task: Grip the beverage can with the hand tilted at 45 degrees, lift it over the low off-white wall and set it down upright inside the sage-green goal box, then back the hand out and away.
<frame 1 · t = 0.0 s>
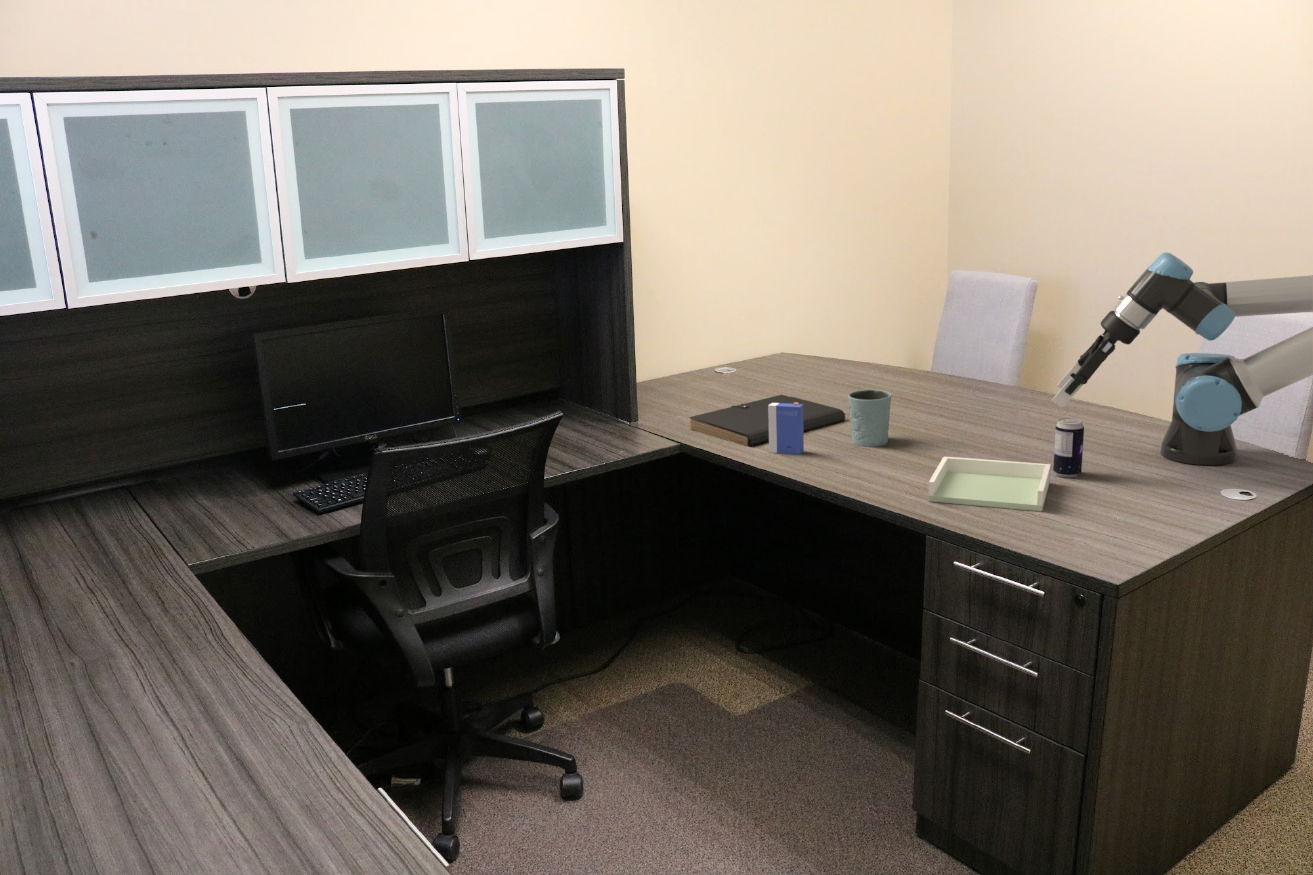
hand: (1059, 396, 238), 15 cm above the table, fingers open, 13 cm apart
embossed teal cup: (869, 442, 265), on the table
walkman: (786, 452, 260), on the table
beverage can: (1067, 475, 234), on the table
goal box: (989, 492, 226), on the table
leather journal: (767, 427, 284), on the table
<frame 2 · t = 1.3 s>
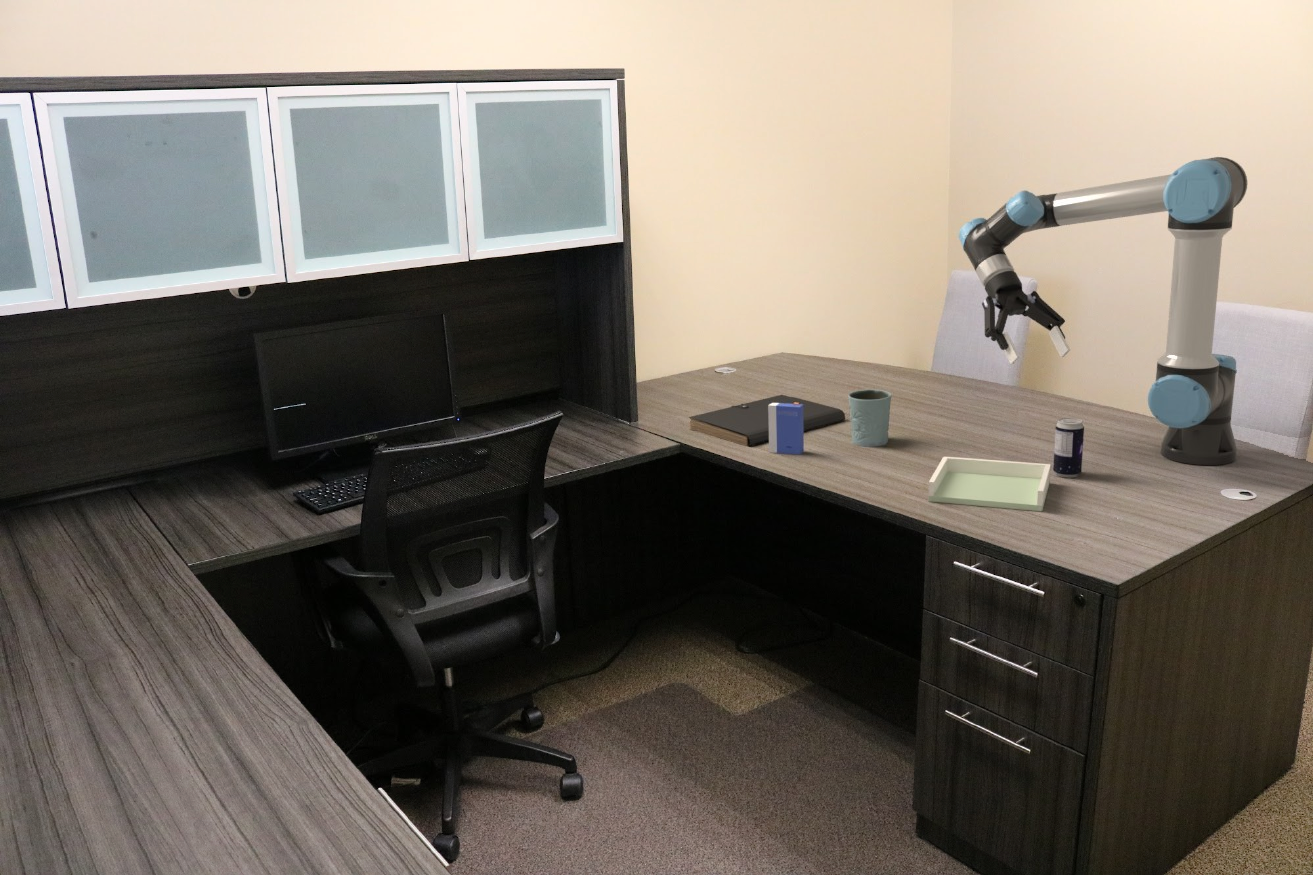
hand: (1040, 357, 237), 24 cm above the table, fingers open, 13 cm apart
nothing on the table moved.
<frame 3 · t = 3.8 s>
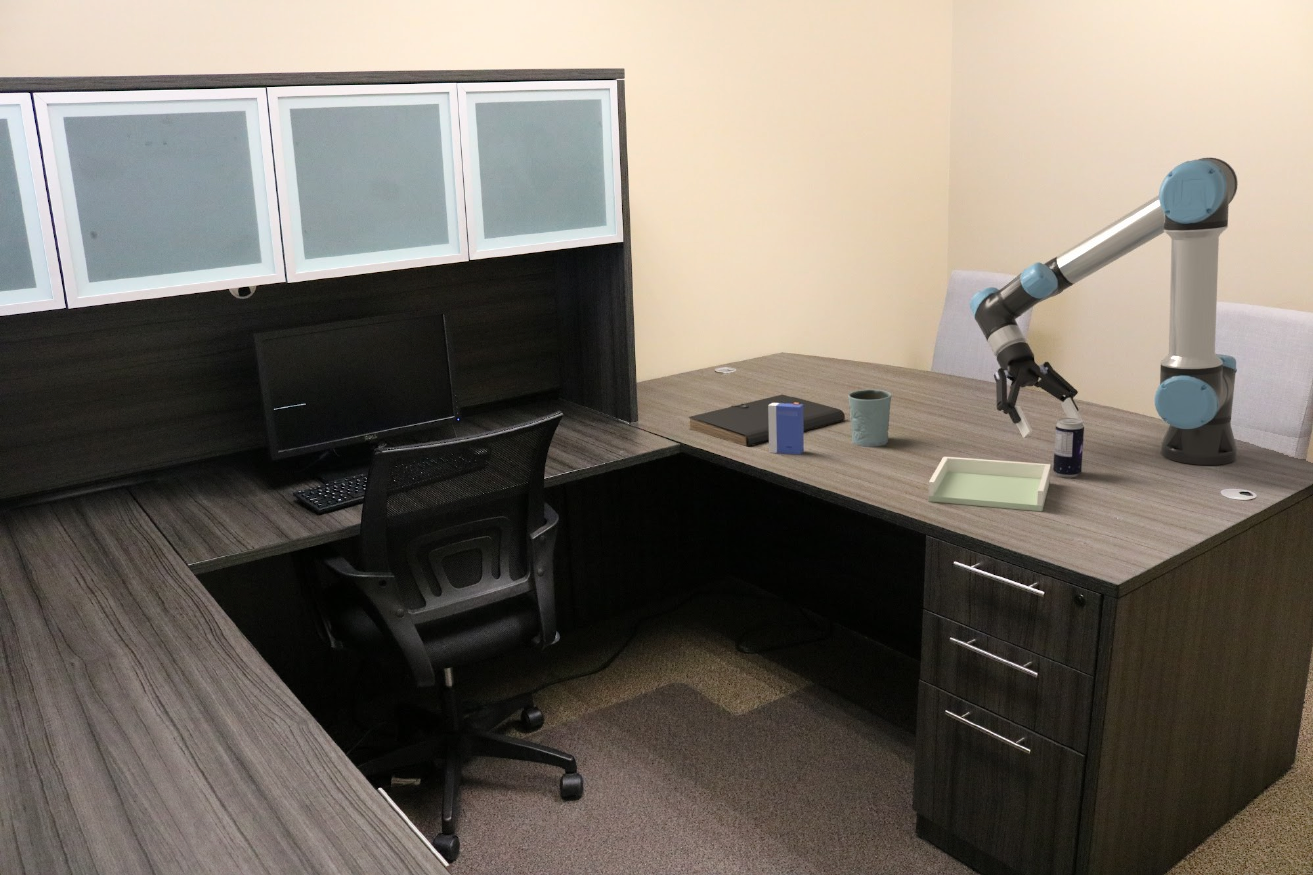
hand: (1053, 430, 235), 9 cm above the table, fingers open, 13 cm apart
nothing on the table moved.
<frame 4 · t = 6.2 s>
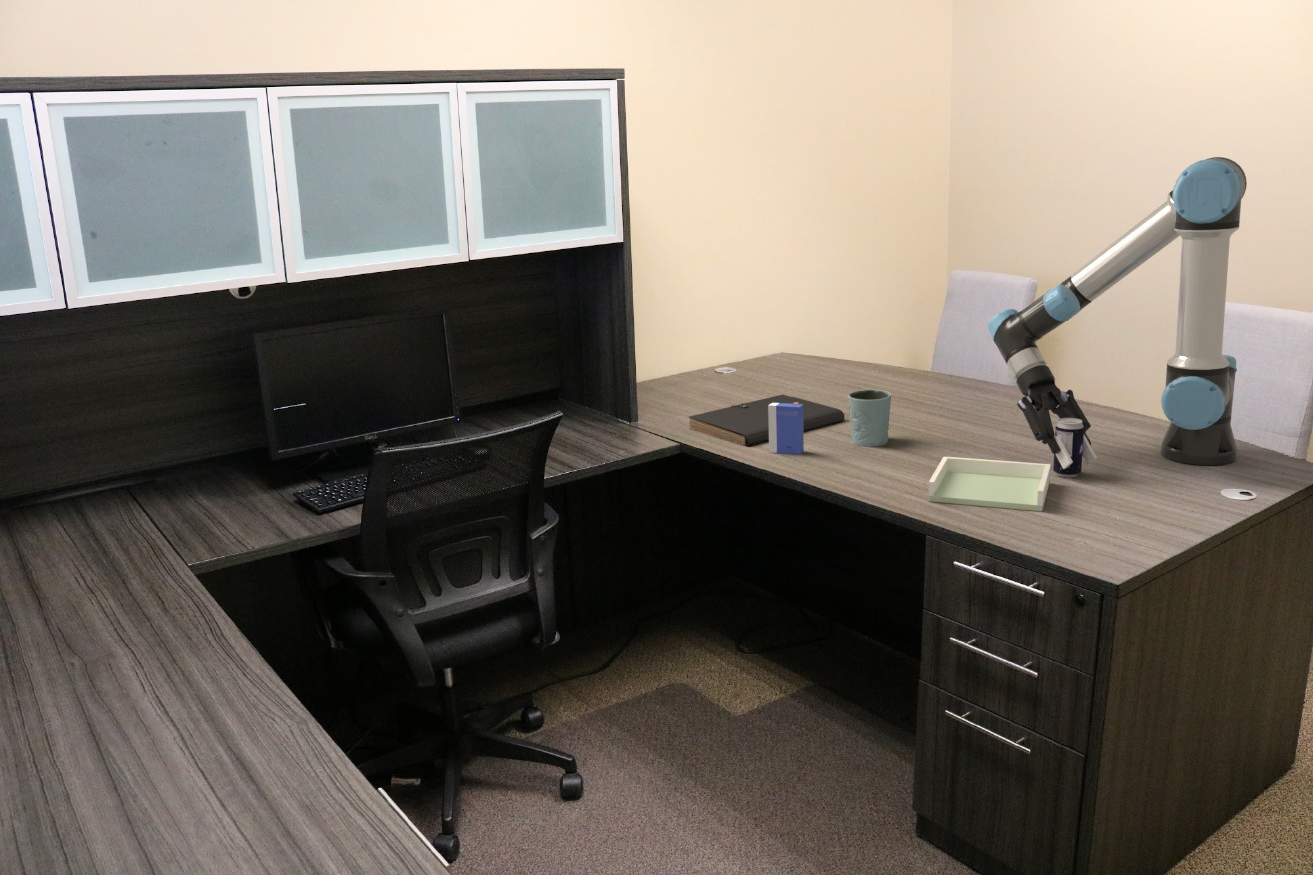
hand: (1080, 463, 230), 4 cm above the table, fingers closed on beverage can, 6 cm apart
beverage can: (1066, 475, 234), on the table, touching gripper
everything else where it was.
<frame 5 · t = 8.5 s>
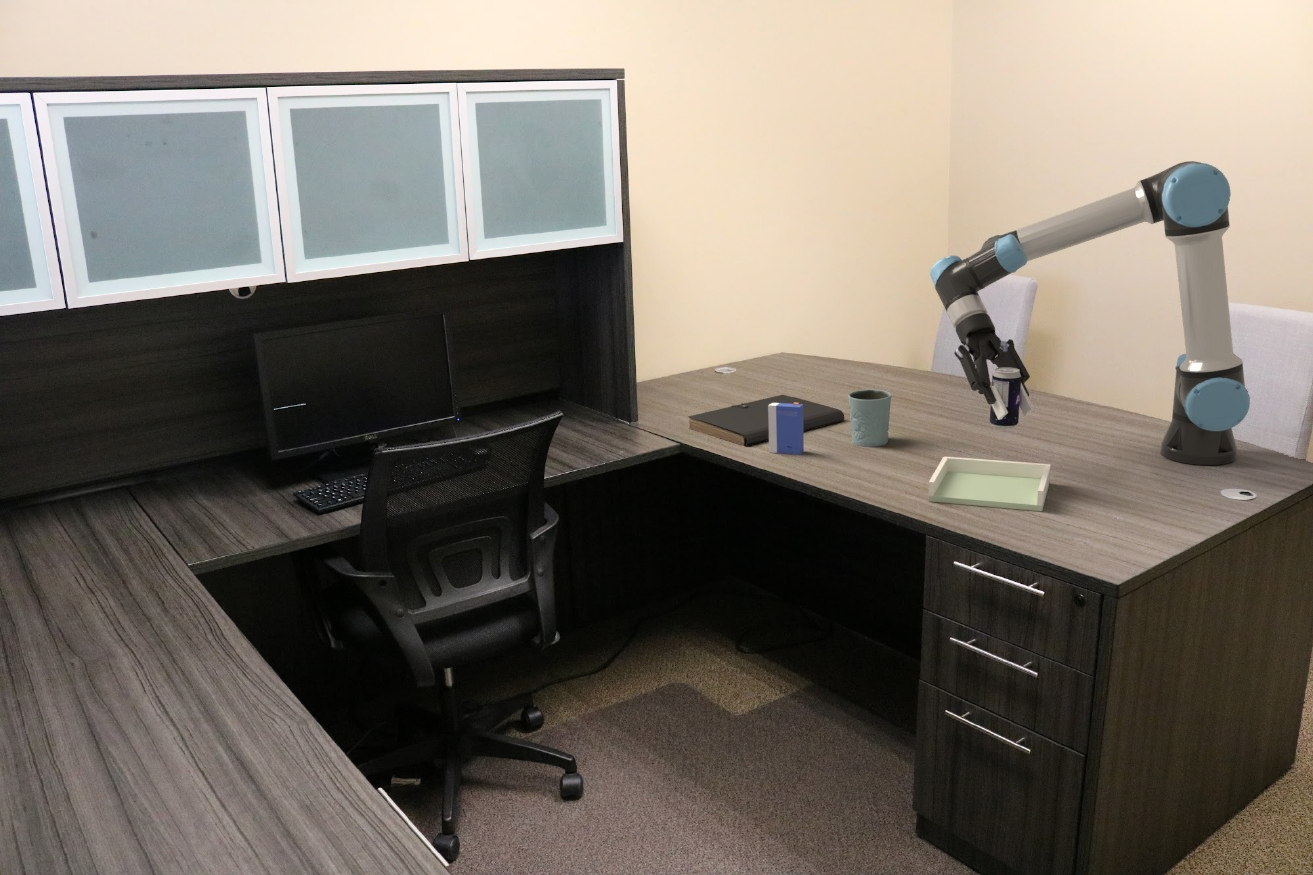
hand: (1016, 414, 221), 16 cm above the table, fingers closed on beverage can, 6 cm apart
beverage can: (1003, 427, 226), point 13 cm above the table, touching gripper
everything else where it was.
when the fingers open (6 cm above the table, at t = 10.9 s): beverage can drops 1 cm, resting on goal box.
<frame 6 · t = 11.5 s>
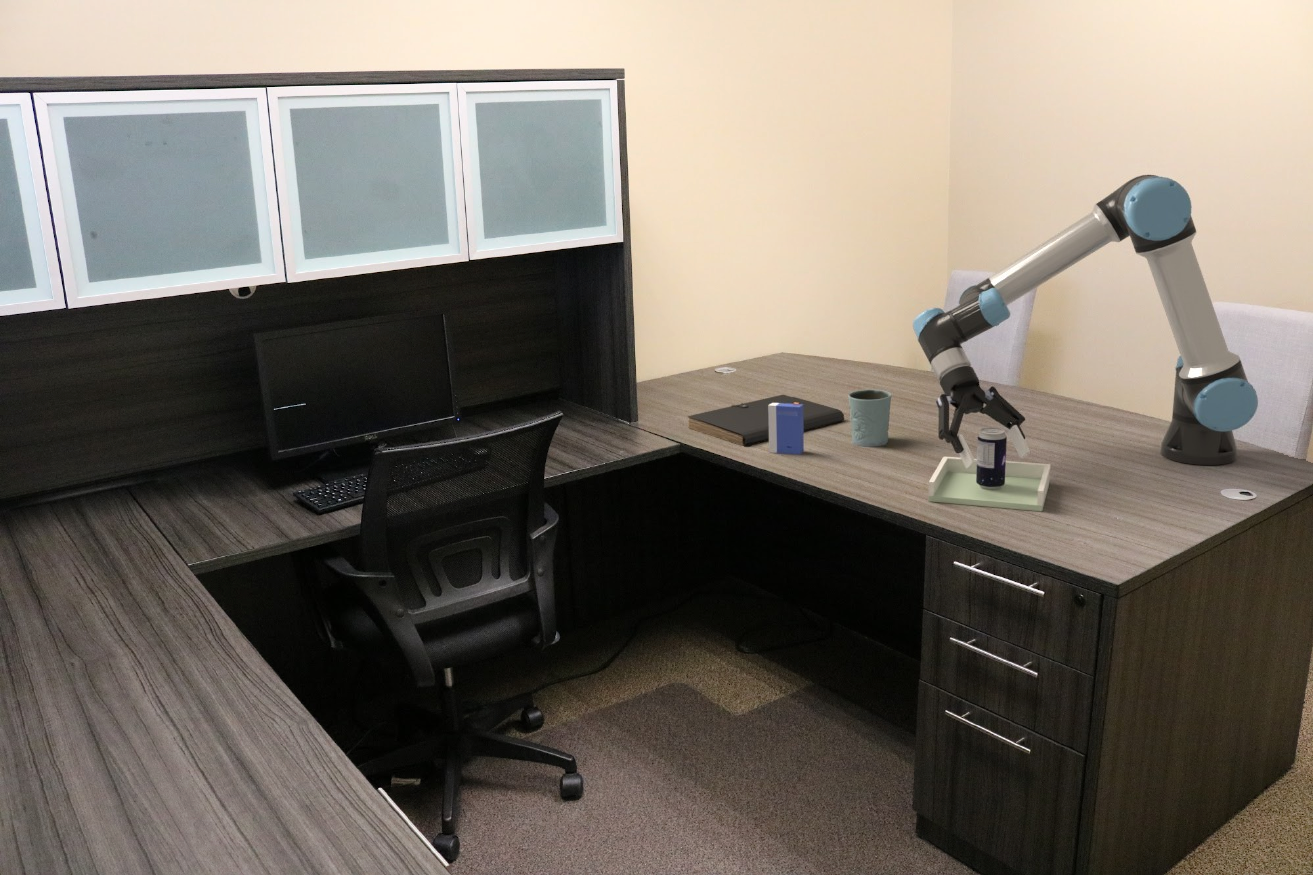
hand: (998, 460, 221), 8 cm above the table, fingers open, 13 cm apart
beverage can: (990, 487, 225), point 1 cm above the table, touching goal box
everything else where it was.
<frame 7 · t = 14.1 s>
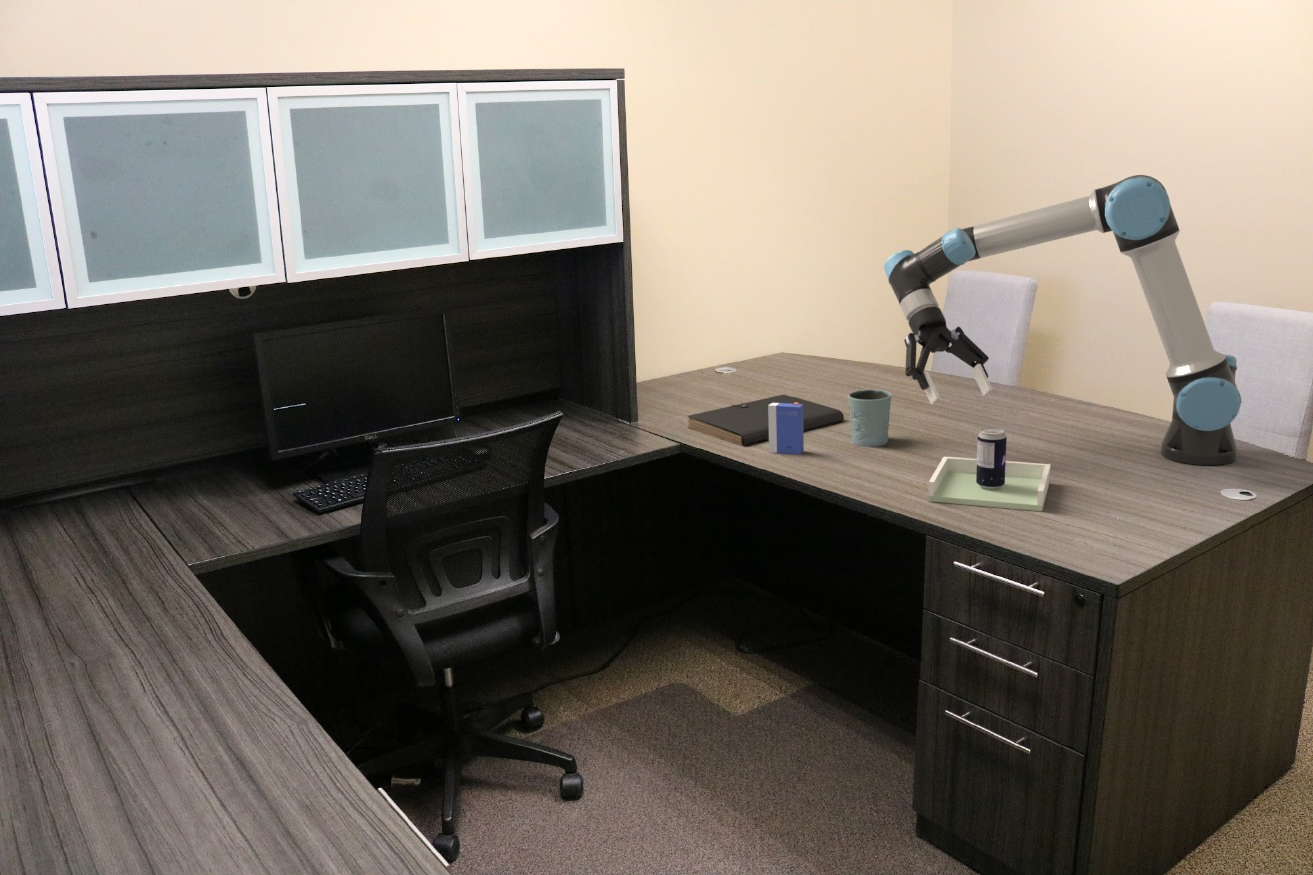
hand: (962, 397, 232), 18 cm above the table, fingers open, 13 cm apart
nothing on the table moved.
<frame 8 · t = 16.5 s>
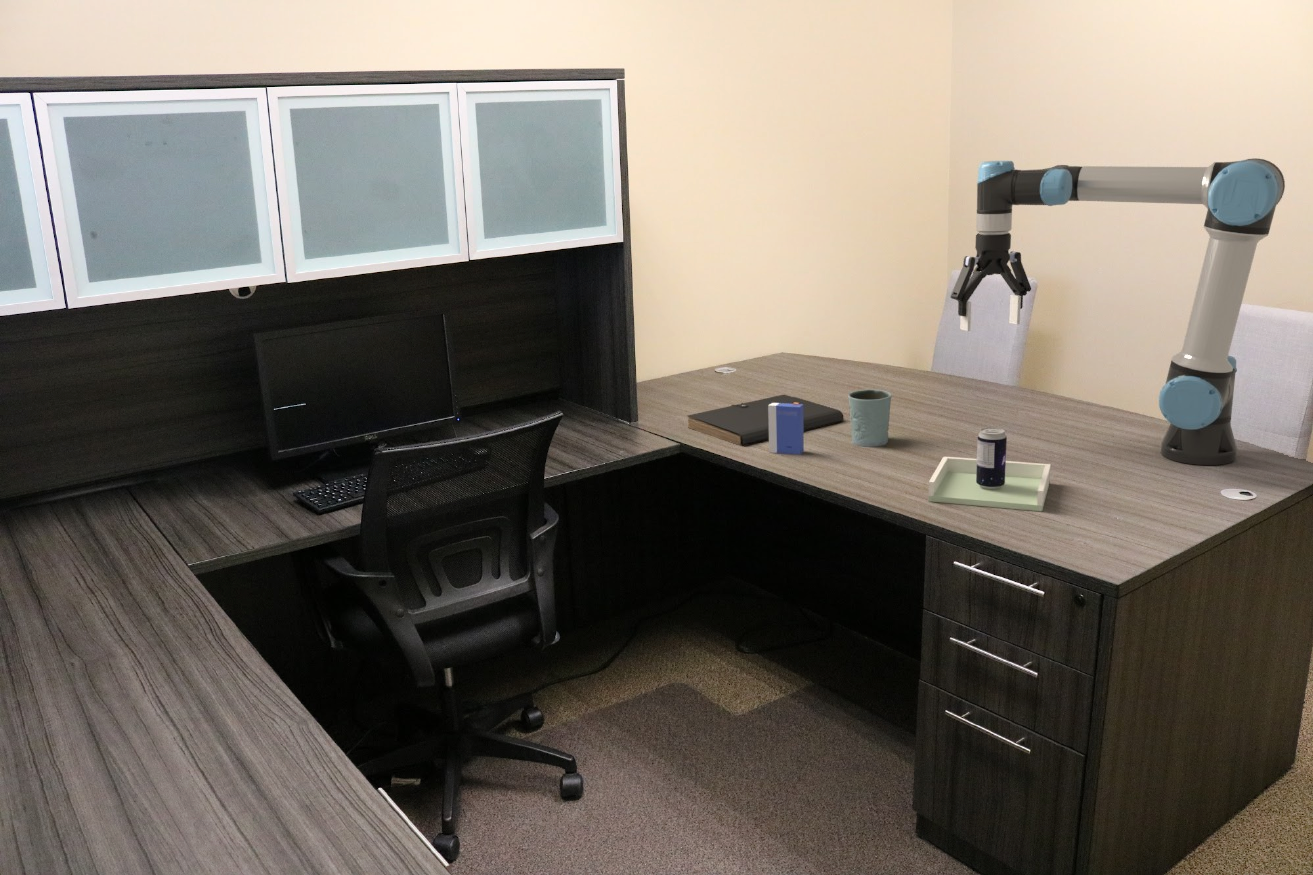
hand: (990, 326, 248), 29 cm above the table, fingers open, 13 cm apart
nothing on the table moved.
at the end: beverage can inside the target area on the goal box (0.6 cm from its centre), point 1.0 cm above the goal box's base; beverage can tilted 0°; the gripper is holding nothing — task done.
